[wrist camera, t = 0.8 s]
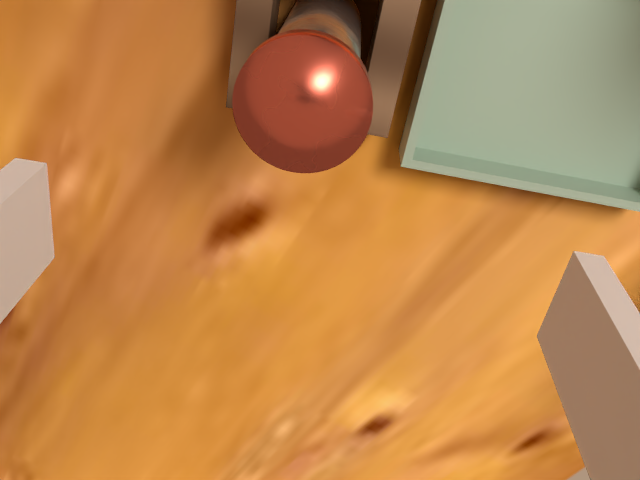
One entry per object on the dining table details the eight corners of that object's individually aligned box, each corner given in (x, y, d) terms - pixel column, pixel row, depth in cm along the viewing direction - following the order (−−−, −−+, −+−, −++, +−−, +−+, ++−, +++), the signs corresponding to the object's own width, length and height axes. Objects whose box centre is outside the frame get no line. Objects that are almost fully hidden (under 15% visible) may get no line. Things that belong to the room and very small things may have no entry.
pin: (287, -32, 37) (240, 22, 23) (379, -14, 37) (387, 51, 23) (274, 61, 40) (225, 159, 26) (360, 77, 40) (357, 184, 26)
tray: (457, -81, 35) (465, -78, 32) (748, -22, 35) (778, -14, 33) (398, 149, 42) (400, 166, 40) (640, 194, 43) (658, 215, 40)
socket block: (255, -80, 36) (243, -76, 32) (424, -46, 36) (430, -38, 32) (237, 87, 41) (225, 107, 37) (385, 116, 41) (387, 137, 38)
